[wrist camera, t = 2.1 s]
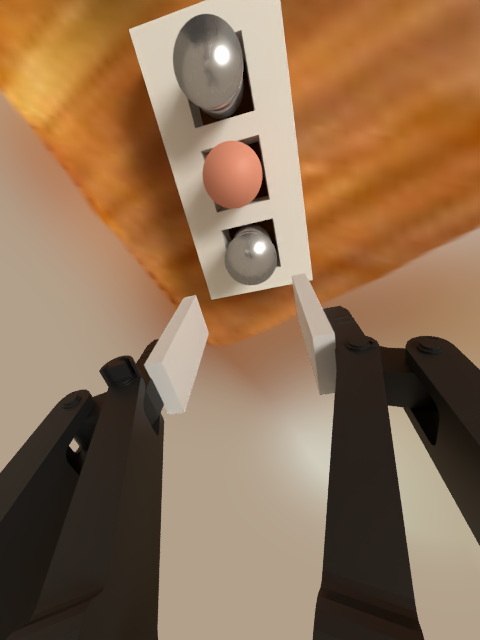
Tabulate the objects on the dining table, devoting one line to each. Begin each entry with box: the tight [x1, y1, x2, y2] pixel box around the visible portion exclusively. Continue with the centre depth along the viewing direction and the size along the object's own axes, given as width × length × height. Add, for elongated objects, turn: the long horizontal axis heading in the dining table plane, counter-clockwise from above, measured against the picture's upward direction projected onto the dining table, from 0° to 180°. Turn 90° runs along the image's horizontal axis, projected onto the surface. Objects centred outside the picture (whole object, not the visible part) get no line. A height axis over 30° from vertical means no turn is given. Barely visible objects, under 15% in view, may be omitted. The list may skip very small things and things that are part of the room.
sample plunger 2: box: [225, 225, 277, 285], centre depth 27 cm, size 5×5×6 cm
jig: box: [129, 0, 313, 300], centre depth 29 cm, size 24×12×6 cm, turn 13°
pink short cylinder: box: [202, 141, 262, 209], centre depth 24 cm, size 5×5×6 cm
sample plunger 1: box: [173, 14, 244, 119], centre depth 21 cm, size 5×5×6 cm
